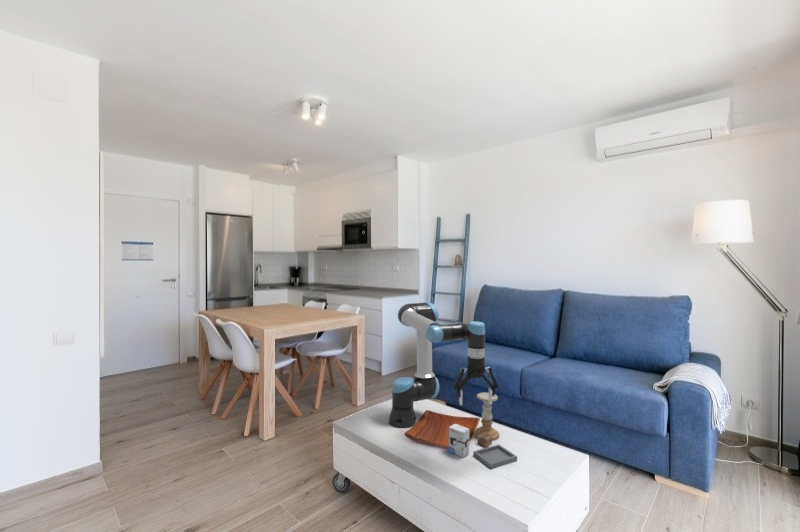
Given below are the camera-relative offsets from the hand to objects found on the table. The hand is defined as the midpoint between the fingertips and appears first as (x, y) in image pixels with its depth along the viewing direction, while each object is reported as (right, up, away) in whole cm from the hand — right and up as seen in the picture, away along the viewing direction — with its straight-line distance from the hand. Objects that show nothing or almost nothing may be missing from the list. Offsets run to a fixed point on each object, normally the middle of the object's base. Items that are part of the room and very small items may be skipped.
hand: (475, 403), depth 167 cm
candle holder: (+10, -25, +23) cm, 35 cm away
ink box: (-7, -25, +6) cm, 27 cm away
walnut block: (+7, -25, +14) cm, 29 cm away
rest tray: (+9, -25, +1) cm, 27 cm away
